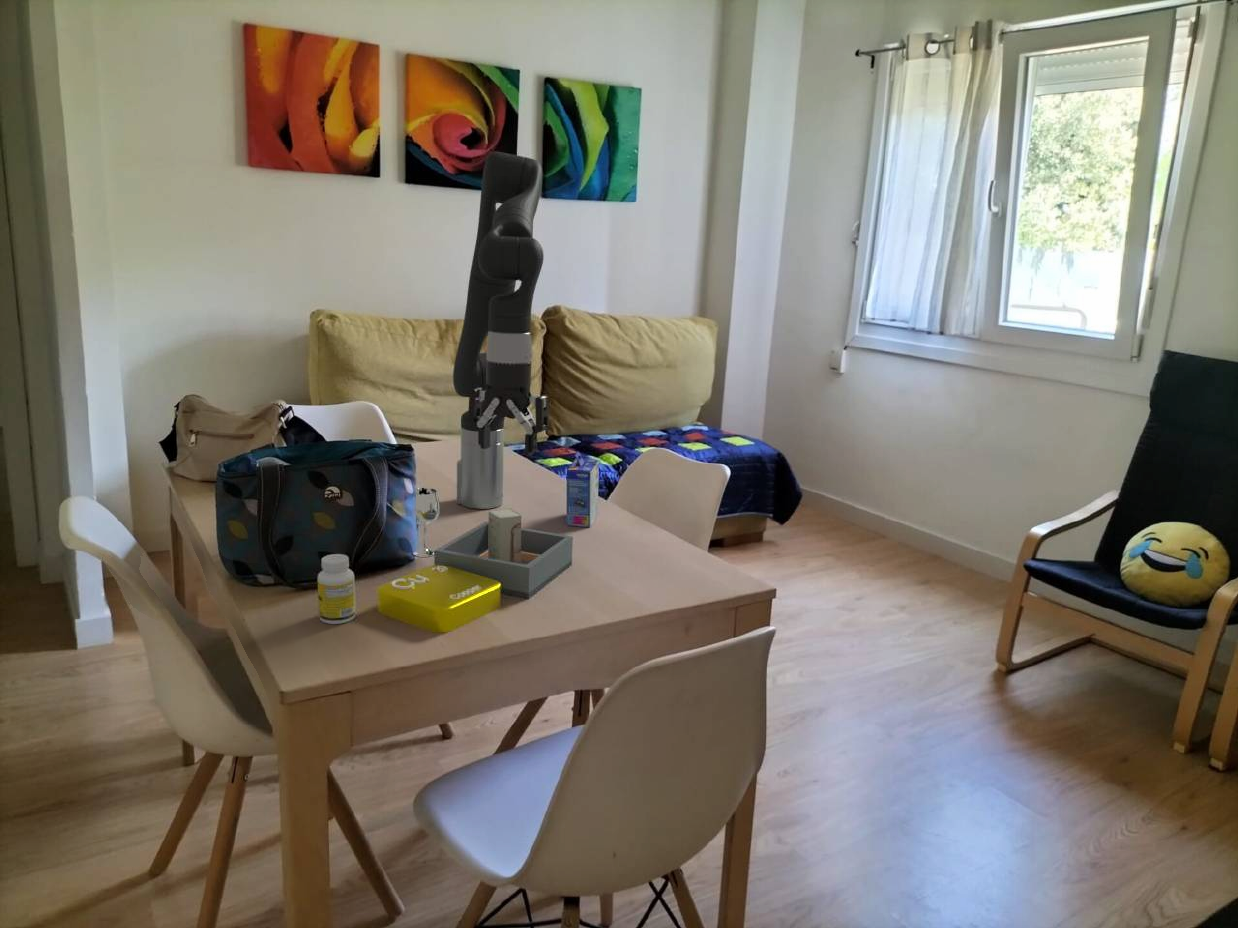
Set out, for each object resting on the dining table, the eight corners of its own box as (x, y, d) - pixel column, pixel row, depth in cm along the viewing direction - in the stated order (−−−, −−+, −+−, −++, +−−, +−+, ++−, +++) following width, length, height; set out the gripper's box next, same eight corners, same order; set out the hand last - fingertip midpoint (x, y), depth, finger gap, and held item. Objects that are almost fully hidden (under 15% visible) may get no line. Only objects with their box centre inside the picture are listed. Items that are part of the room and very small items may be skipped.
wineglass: (445, 551, 174) (445, 490, 171) (427, 560, 169) (427, 497, 166) (420, 545, 176) (420, 485, 173) (401, 554, 171) (401, 492, 168)
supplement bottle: (323, 610, 145) (321, 551, 143) (358, 611, 146) (357, 552, 144) (315, 625, 140) (313, 564, 138) (351, 625, 141) (350, 564, 138)
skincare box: (521, 569, 164) (522, 515, 161) (498, 573, 161) (499, 518, 159) (509, 560, 168) (510, 507, 166) (486, 563, 166) (487, 510, 163)
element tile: (442, 638, 139) (441, 608, 138) (372, 612, 147) (371, 584, 145) (506, 607, 151) (506, 579, 150) (438, 585, 159) (438, 558, 158)
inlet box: (434, 580, 160) (434, 550, 158) (484, 549, 176) (485, 521, 175) (528, 598, 154) (529, 567, 152) (571, 564, 170) (572, 536, 169)
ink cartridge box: (573, 511, 202) (575, 447, 198) (598, 514, 201) (600, 449, 198) (564, 525, 192) (566, 458, 189) (590, 527, 192) (593, 460, 188)
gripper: (460, 356, 155) (460, 450, 159) (537, 365, 150) (535, 461, 154) (482, 351, 162) (481, 442, 166) (556, 359, 157) (553, 452, 161)
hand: (507, 451), depth 160 cm, fingers open, 8 cm apart
